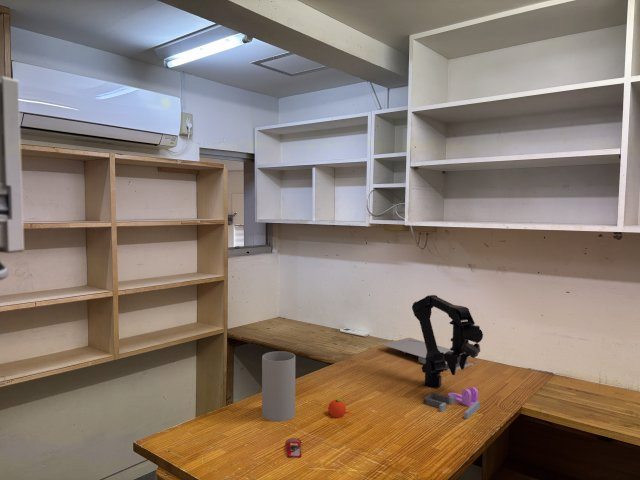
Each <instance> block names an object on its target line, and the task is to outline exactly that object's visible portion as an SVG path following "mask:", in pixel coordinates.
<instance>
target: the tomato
mask: <svg viewBox="0 0 640 480" xmlns="http://www.w3.org/2000/svg"><path fill="white" fill-rule="evenodd" d="M345 403H346V402H345V400H344V399H341V398H339V399H334V400H332V401H330V403H329V404H328V406H327V411H328V415H330V417H332V418H337V419H339V418H342V417H344V415H345V414H346V412H347V411H346V410H347V407H346V404H345Z"/></svg>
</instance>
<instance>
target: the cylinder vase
mask: <svg viewBox="0 0 640 480" xmlns="http://www.w3.org/2000/svg"><path fill="white" fill-rule="evenodd" d="M261 358H262V359H261V368H262V369H261V407H262V408H261V416H262V417H263V419H266V420H267V421H272V422H286V421H289V420H292V419H293V418H295V416H296V355H295V354H294V353H293V352H290V351H282V350H281V351H278V350H276V351H269V352H266V353H264V354H262V357H261Z"/></svg>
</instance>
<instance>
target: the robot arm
mask: <svg viewBox="0 0 640 480" xmlns="http://www.w3.org/2000/svg"><path fill="white" fill-rule="evenodd" d="M433 308H435V309H438V310H439V311H442V312H443V313H446V314H447V315H448V317H449V319H451V321H450V322H449V324H450V325H452V337H451V338H450V342H452V345H451V347H450V348H449V349H450V350H451V351H453V352H451V351H448V352H446V353H445V354H444V353H443V352H442V353H441V352H440V351H439V350H438V348H437V345H438V344H437V341H436V337H435V333H434V329H433V325H432V322H431V317H432V309H433ZM411 309H412V312H413V315H414V317H415V318H416V319H417V320H418V321H419V325H420V329H421V332H422V337H423V342H425V345H426V349H427V354H426V358H425V359H426V363H425V364H424V363H423V365H422V366H421V371H422V373H424V374H425V375H424V383H423V386H425V387H430V388H433V389H437V388H439V387H440V386H442V385H443V383H442V375H441V373H444V370H445V369H444V368H445V366H446V362H447V364H448V366H449V369H450V372H451V375H452V376H455V375H456V373H457V372H456V371H457V370H456V367H457V363H459V364H460V368H461V371H462V370H465V368H466V367H465V364H466V362H468V361H467V360H468V358H471V359H475V358H476V357H478V355H479V353H480V352H481V347H480V346H481V345H480V344H479V343H480V342H481V341H482V340H483V337H484V333H483V330H482V329H480V328H481V327H480V325H475V324H476V323H475V320H474V319H473V316H472V314H471V311H470V309H469V308H468V307H467V306H462V305H457V304H453V303H451V302H449V301H447V300H444V299H443V298H440V297H439V296H437V295H435V294H430V295H427V296H425V297H423V298H422V299H419V300H417V301H414V302H413V303H412V307H411ZM469 341H471V342H473V343H474V344H473V343H470V342H469ZM469 356H471V357H469ZM445 361H446V362H445ZM464 367H465V368H464Z"/></svg>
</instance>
